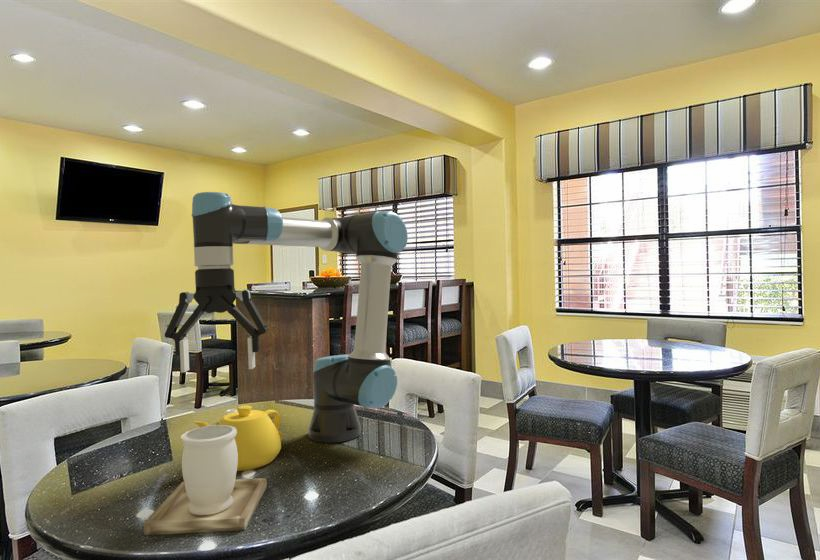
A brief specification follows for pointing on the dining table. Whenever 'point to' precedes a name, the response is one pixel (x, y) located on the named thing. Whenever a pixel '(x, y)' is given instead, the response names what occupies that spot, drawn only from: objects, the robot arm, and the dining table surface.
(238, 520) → the tray
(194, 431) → the jar
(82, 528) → the dining table surface
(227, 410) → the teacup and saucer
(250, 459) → the teapot
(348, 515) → the dining table surface
